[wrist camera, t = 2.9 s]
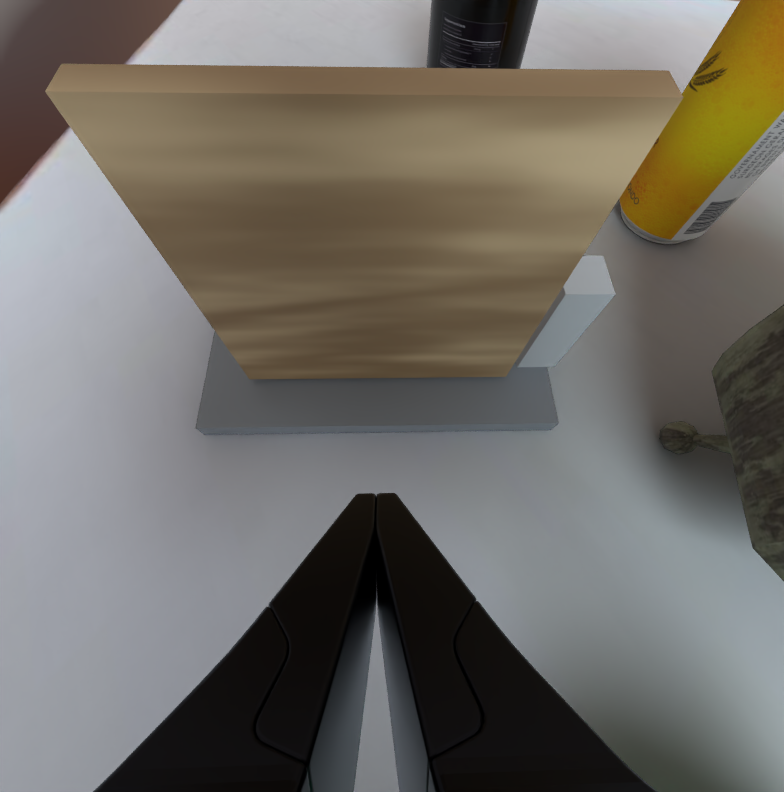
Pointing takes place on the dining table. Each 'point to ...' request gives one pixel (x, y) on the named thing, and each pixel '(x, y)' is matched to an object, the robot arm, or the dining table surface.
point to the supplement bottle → (479, 33)
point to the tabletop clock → (750, 431)
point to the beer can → (715, 131)
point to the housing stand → (410, 384)
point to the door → (368, 200)
